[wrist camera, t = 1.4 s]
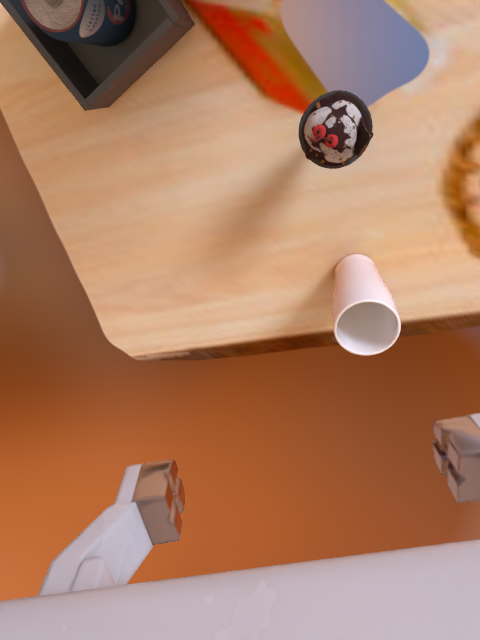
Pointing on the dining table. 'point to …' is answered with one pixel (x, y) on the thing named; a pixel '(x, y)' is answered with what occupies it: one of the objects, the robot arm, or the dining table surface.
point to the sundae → (335, 129)
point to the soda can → (83, 20)
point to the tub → (108, 51)
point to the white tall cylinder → (363, 308)
